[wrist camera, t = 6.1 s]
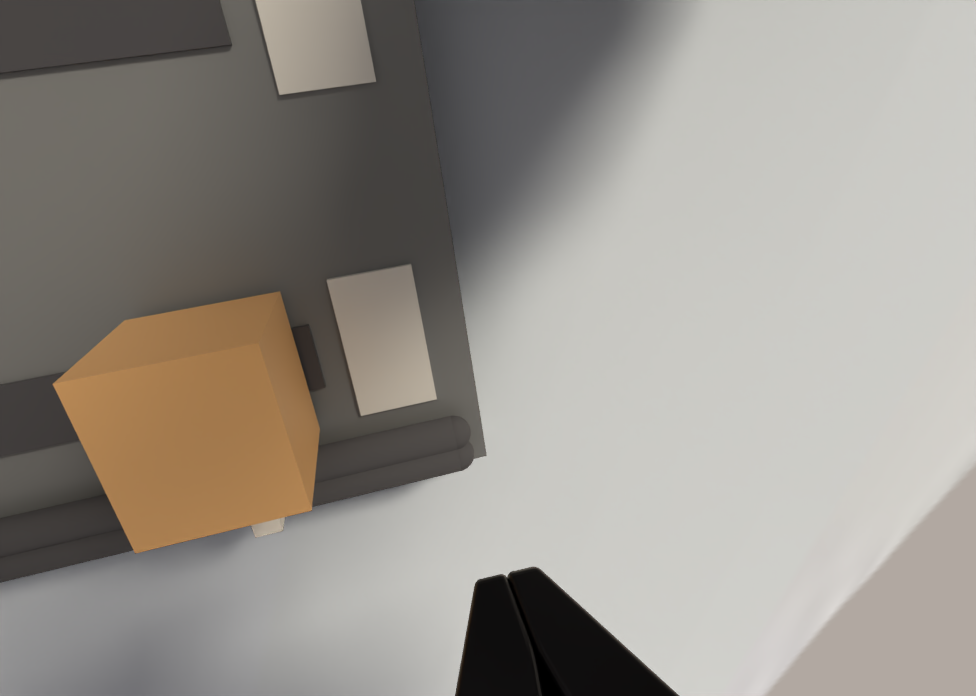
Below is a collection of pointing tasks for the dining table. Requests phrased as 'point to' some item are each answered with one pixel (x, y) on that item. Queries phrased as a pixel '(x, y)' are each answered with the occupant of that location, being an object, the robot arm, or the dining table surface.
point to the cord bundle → (339, 475)
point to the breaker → (197, 420)
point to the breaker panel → (221, 207)
